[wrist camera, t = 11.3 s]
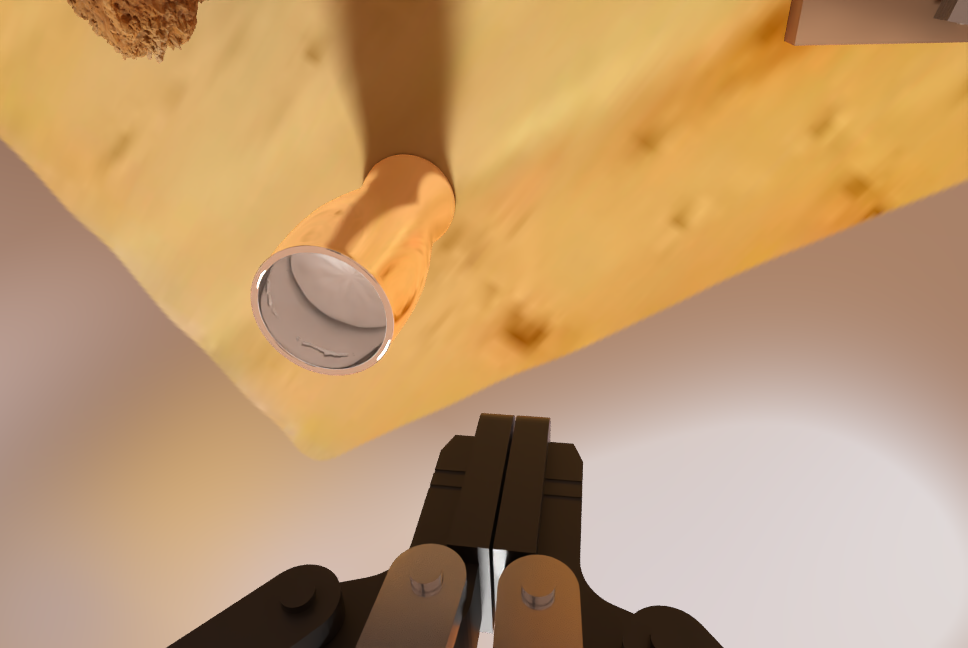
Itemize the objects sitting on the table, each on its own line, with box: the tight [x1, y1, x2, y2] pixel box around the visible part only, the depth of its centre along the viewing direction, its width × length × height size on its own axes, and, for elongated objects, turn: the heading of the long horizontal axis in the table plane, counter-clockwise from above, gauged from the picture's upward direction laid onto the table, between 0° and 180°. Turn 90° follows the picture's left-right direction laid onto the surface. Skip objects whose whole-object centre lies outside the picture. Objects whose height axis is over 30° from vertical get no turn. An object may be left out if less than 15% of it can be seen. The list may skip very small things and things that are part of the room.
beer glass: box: [251, 154, 455, 375], centre depth 34 cm, size 7×7×15 cm
